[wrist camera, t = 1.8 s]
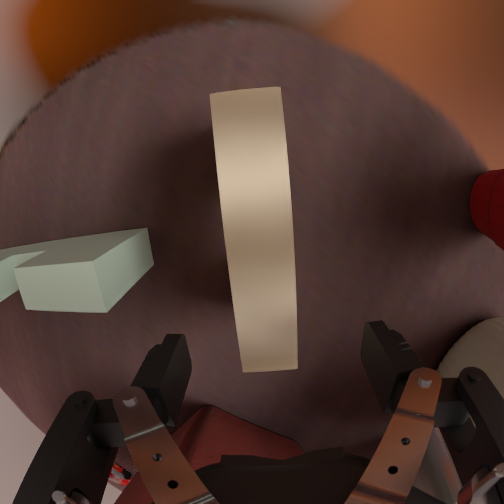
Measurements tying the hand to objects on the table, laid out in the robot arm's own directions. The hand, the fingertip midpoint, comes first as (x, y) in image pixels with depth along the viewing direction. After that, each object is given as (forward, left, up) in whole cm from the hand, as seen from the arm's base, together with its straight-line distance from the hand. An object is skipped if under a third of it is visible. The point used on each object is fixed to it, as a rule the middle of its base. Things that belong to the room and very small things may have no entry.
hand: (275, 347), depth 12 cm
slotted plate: (+4, -1, -10) cm, 11 cm away
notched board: (+9, +17, -10) cm, 22 cm away
